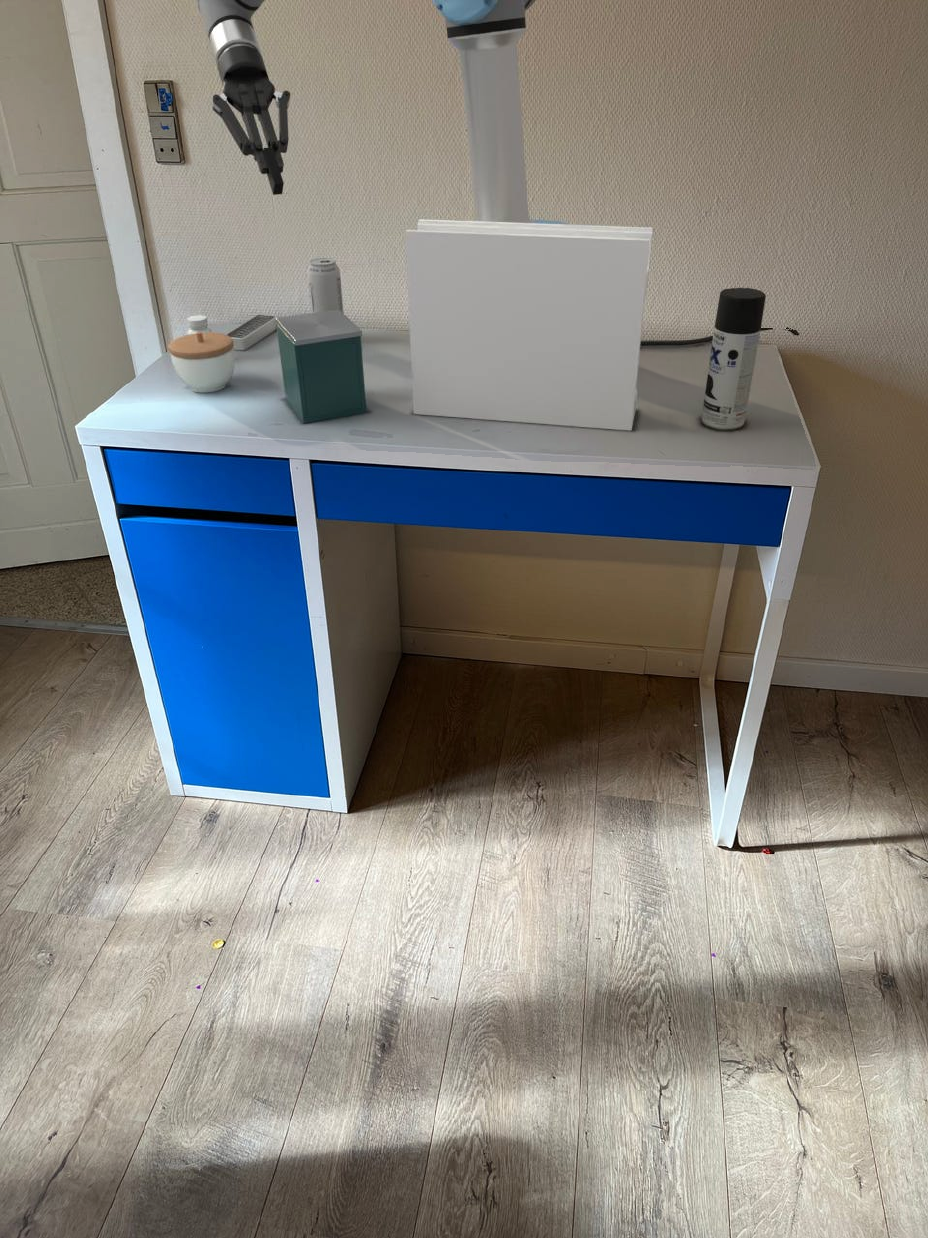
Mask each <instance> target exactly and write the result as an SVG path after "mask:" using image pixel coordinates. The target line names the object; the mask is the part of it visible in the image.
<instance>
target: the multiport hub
mask: <svg viewBox="0 0 928 1238" xmlns="http://www.w3.org/2000/svg"><path fill="white" fill-rule="evenodd" d="M275 318H278V317H277V316H275V315H266V314H256V315H255V316H254V317H252V318H250V319H249V320H247V321H245V322H244V323H242V324H241V325H239V326H238V327H236V328H234V329H232V330H231V331H230V332H227V333H226V334H225V335H228V336H230V337H231V338H232V339H233V344H234V346H233V349H234V351H246V350H248V349H249V348H251V347H253V346H254V345H255V344H257V343H259V342H260V341H261V340H262V339H264V338H265V337H267V336H269V335H270V334H272V333H273V332H275V331H277V327H276V319H275Z"/></svg>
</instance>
